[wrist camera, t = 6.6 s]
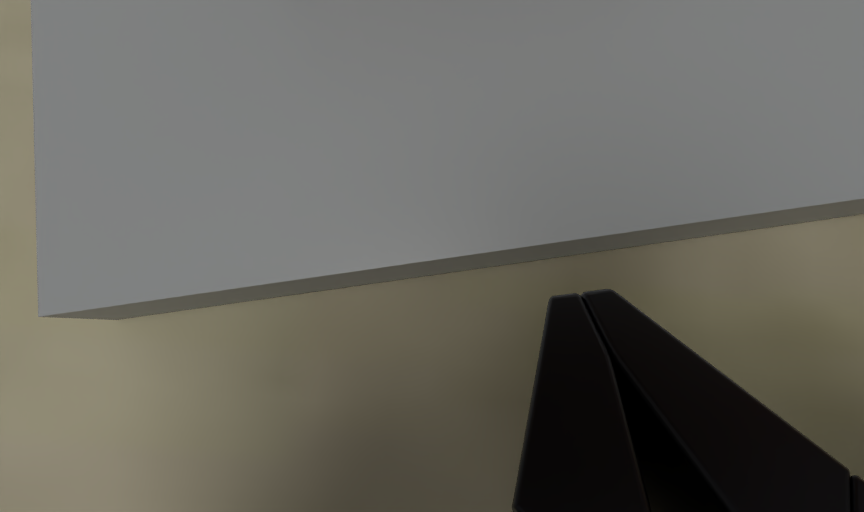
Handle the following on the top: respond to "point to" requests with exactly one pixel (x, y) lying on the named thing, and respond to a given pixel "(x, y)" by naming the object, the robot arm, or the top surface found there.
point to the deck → (420, 137)
